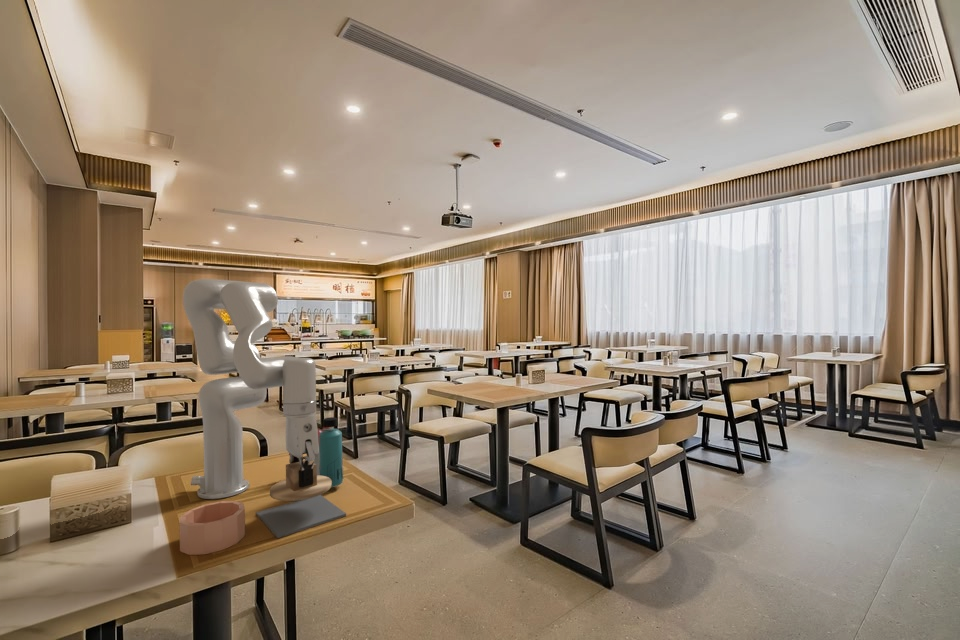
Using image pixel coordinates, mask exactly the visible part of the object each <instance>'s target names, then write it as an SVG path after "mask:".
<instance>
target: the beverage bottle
mask: <svg viewBox="0 0 960 640" xmlns="http://www.w3.org/2000/svg"><path fill="white" fill-rule="evenodd" d="M337 426H339V421H338V418H337V417H326V418H323V420H322V428H323V427H330V429H326V430H323V431H322V432H321V433H320V434H319V453H320V457H319V463H320V464H319V466H320V468H319V469H320V475H321V476H326V477H329V478H330V479H331V481H332V486H331V488H333V487H334V488H335V487H337V486H340V485H342V484H343V480H344V465H343V458H344V457H343V432H342V431H341V430H340V429H338V428H333V427H337Z"/></svg>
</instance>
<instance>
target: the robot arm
mask: <svg viewBox="0 0 960 640" xmlns="http://www.w3.org/2000/svg"><path fill="white" fill-rule="evenodd" d="M278 301H279V298H278V294H277V292H276V290H275V288H274V287H273V286H271V285H270V284H268V283H265V282H254V281H253V282H252V281H243V280H241V281H240V280H230V279H219V278H218V279H216V278H199V279H195V280H192V281H189V283H187V284H186V286H185V287H184V289H183V294H182V306H183V311H184V312H185V315H186V317H187V320H188V322H189V323H190V326H191V328H192V332H193V336H194V337H193V338H194V343H195V347H196V352H197V353H196V354H197V359H198V360H197V361H198V364H199V367H200V370H201V372H202V373H203V374H206V375H211V376H217V375H228V374H229V375H230V374H237V373H238V374H239V376H231V377H223V378H218V379H216V378H215V379H212V380H209V381H208V382H206V383H204V384H203V385H202V386H201V387H200V389H199V391H198V402H199V407H200V412H201V417H202V427H203V429H202V430H203V431H202V432H203V436H202V437H203V475H193V476H192V477H191V479H190V486H198V487H199V488H198V489H197V496H198V498H201V499H205V500H217V499H224V498H229V497H232V496H233V497H234V496H235V495H236V496H237V495H239V494H241V493H243V492H244V491H246V490H248V489H249V487H250V481H249V480H248V479H246V478H245V479H244V455H243V453H244V450H243V449H244V448H243V447H244V446H243V442H244V440H243V439H244V437H243V433H244V432H243V425H242V422H241V421H240V419H239V418H238V417H237V416H236V414H235V412H236V411H238V410H244V409H249V408H255V407H258V406H260V405H262V404H263V403H264V402H265V400H266V398H267V394H268V392H267V390H268V389H273V388H279V387H282V402H283V404H282V406H283V407H282V408H283V409H282V410H283V411H282V412H283V413H282V414H283V415H282V416H283V417H284V418H285V448H286V451H287V453H288V455H289V461H288V464H291V463H296V462H299V463H300V470H299V487H300V488H302V487H306V486H309V485H312V484H313V463H314V460H315V455H318V453H319V444H318V430H317V429H318V423H317V418H316V414H317V379H316V378H317V377H316V375H317V372H316V370H317V369H316V362H315V360H314V359H313V358H310V357H296V356H291V355H284V356H273V357H272V356H271V357H262V356H261V353H260V351H259V349H258V347H257V346H256V344H254V342H257V341H259V340H260V339H263V338H264V337H265V336H266V335H268V334H269V333H270V332H271V330H272V329H273V321H272V319H271V318H270V316H269V314H268V313H270V312H272V311H274V310H275V309H276V308H277V305H278V303H279V302H278ZM217 309H218V310H225V311H226V312H227V315H228V316H229V318H230V320H231V322H232V324H233V326H234V328H235V330H236V331H237V333H238V335H237V338H236V339H235V340H232V339H231V338H230V333H229V329H228V325H227V323H226V322H225V320H224V319H223V318H222V317H221V316H220V315H219V314H218V313H216V312H215V310H217ZM304 455H305V456H304ZM305 459H307V460H306V461H305V462H304V463H303V461H304V460H305Z"/></svg>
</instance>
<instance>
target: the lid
mask: <svg viewBox="0 0 960 640" xmlns="http://www.w3.org/2000/svg"><path fill="white" fill-rule="evenodd" d="M304 460H305V459H304ZM304 460H303V463H304V462H305V461H306V460H305V461H304ZM299 470H300V463H299V462H296V463H291V464H290V463H288V464H287V463H286V464H285V479H284V480H280V481H279V482H276V483H275V484H273V485H272V486H271V487H270V488H269V496H270V498H272V499H273V500H276V501H283V502H284V501H285V502H286V501H287V502H295V501H299V500H303V499H308V498H312V497H315V496H318V495H323V494H324V493H327V492H328V491H329V490H330V489H331V488H332V487H331V486H332V481H331V479H330V478H329V477H326V476H321V475H317V465H316V464H315V463H313V484H312V485H309V486H306V487H302V488H300V487H299Z"/></svg>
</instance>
